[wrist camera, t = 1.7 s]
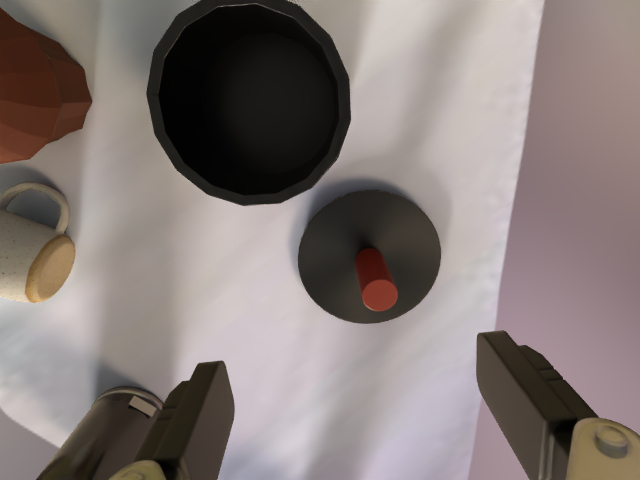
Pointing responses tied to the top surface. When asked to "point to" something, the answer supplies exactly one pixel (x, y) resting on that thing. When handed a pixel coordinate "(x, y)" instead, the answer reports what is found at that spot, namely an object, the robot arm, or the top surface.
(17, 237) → the ceramic mug
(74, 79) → the muffin
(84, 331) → the top surface
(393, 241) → the lid
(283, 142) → the pot
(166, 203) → the top surface
